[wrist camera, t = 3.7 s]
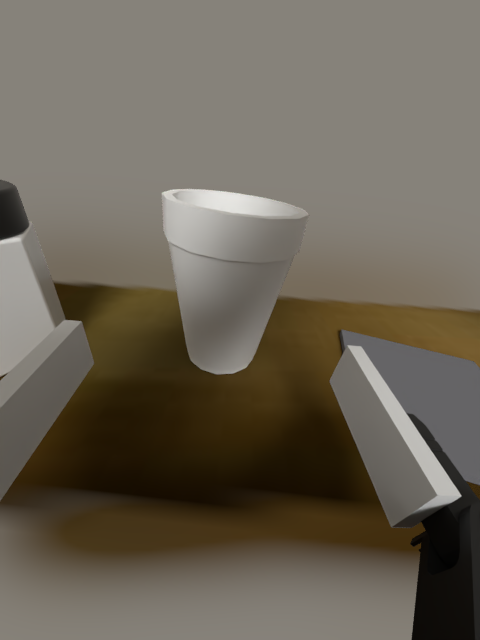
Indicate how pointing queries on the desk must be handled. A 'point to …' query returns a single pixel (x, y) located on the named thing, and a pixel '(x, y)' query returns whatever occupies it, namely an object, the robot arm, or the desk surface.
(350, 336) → the charcoal mat
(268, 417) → the desk surface
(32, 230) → the jar
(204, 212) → the foam cup
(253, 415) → the desk surface
